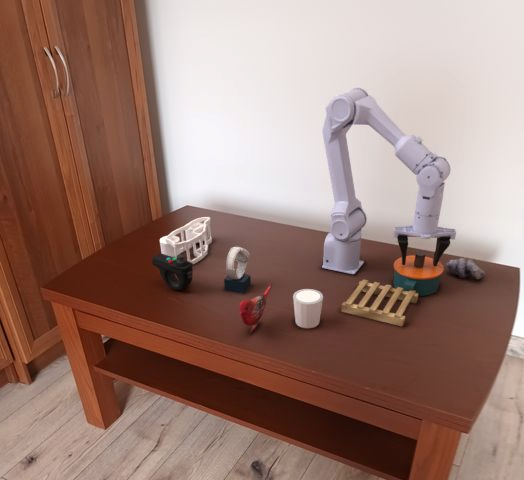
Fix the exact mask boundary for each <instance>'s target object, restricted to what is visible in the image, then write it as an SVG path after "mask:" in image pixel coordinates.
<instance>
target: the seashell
mask: <svg viewBox="0 0 524 480" xmlns="http://www.w3.org/2000/svg"><path fill="white" fill-rule="evenodd" d="M445 266H446V268H447V269H448V270H449V271H451V273H452V274H453V275H454V276H458V277H459V278H460V279H463V278H467V277H468V276H469V275H470V274H472V276H473V277H475V279H476V280H480V279H481V278H482V277H483V276H484V275H485V271H484V270H483V269H482V268H480V267H479V265H477V264H476V262H475V261H474V260H473V259H471V258H469V259H466V258H464V257H460V258H458V259H456V258H455V259H449V261H448V262H446V263H445Z"/></svg>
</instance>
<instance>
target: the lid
mask: <svg viewBox="0 0 524 480" xmlns="http://www.w3.org/2000/svg"><path fill="white" fill-rule="evenodd" d="M433 258H434V257H433ZM433 258H432V257H429V256H426V253H425V252H423V251H417V252H415V254H414V255H413V254H412V255H406V263H405V265H402V256H401V257H399V258H397V259H396V260H395V261H394V262H393V268H394V271H395V270H396V271H397V272H398V273H399V274H401V275H403V276H405V277H409V278H413V279H432V278H436V277H438V276H440V275H441V276H442V275H443V273H444V270H445V268H444V267H445V266H444V265H443V264H442V262H440V260H439V261H438V264H437V266H434V265H433Z"/></svg>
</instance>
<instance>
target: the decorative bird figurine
mask: <svg viewBox="0 0 524 480" xmlns="http://www.w3.org/2000/svg"><path fill="white" fill-rule="evenodd" d="M272 287H273V283H270V285H268V287H267V289H266V290H265V291H264V293H263V294H262V295H258V296H256V297H253V298H252V299H249V298H244V299H243V300H242V301H241V302H240V303H239V307H238V309H239V311H238V312H239V316H240V317H241V320H242V323H243V324H245V326H252V327H251V329H250V331H249V332H248V333H249V334H251V333H252V332H253V331H254V330H255V329H256V327H257V326H258V323H259V321H260V319H261V318H262V316H263V313H264V311H265V308H266V305H267V298H268V296H269V293H270V291H271V289H272Z"/></svg>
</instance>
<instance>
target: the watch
mask: <svg viewBox="0 0 524 480" xmlns="http://www.w3.org/2000/svg"><path fill="white" fill-rule="evenodd" d="M250 257H251V254H250V252H249V251H248V250H247V249H246V248H244V247H241V246H233V247H231V248H230V249H229V251H228V253H227V257H226V264H225V265H226V271H225V272H226V274H227V275H226V276H225V277H224V279H223V283H224V290H225V291H230V292H234V293H240V294H246V292H247V291H248V290H249V289H250V287H251V286H252V277H251V274H249V273H245V272H246V269H247V264H248V263H249V259H250ZM235 262H236V263H237V267H236V269H235Z"/></svg>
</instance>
